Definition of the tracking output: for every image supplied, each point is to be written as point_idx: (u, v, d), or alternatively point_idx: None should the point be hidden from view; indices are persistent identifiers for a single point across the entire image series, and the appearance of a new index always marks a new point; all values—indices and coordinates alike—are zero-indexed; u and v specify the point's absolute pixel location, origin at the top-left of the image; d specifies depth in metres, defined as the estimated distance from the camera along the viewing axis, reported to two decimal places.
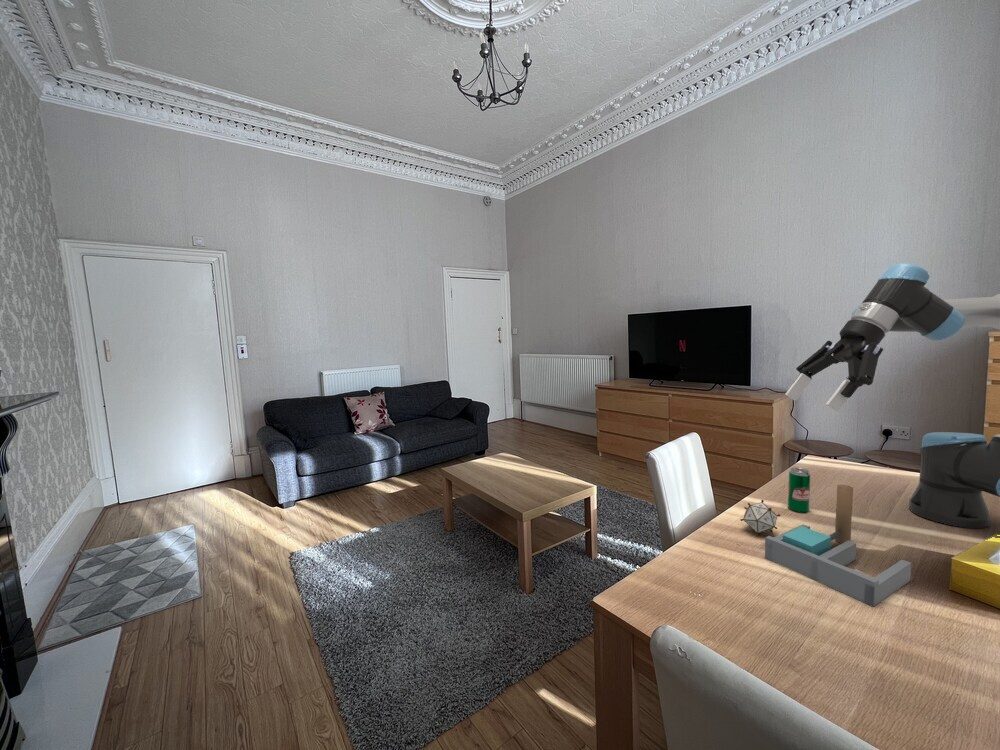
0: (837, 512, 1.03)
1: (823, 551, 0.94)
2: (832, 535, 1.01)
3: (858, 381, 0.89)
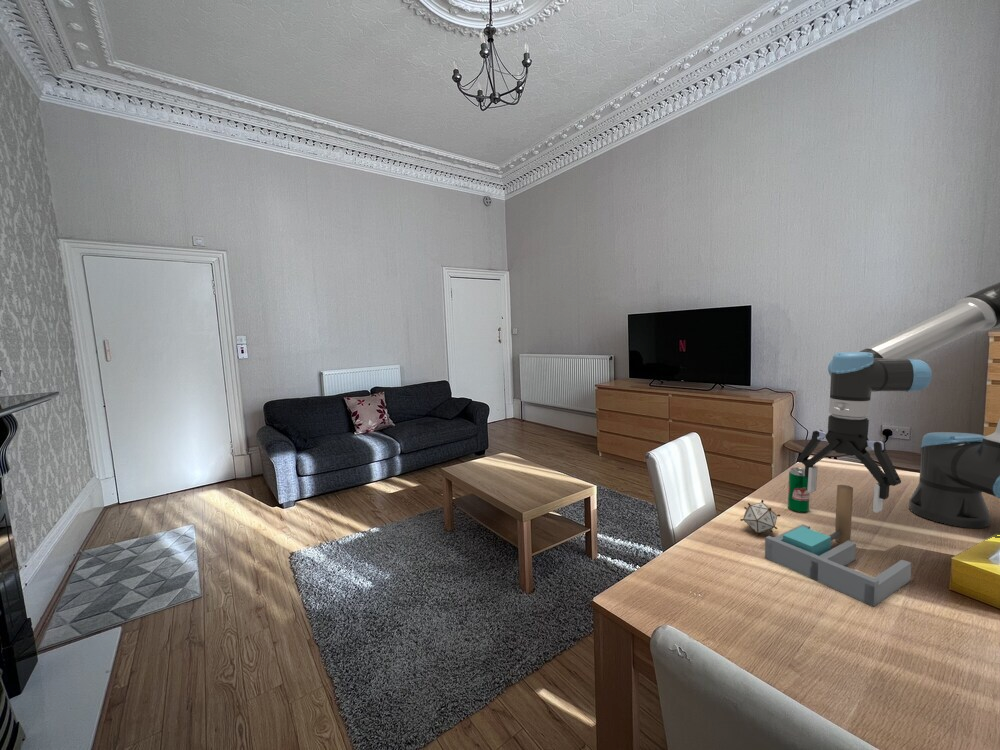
0: (837, 512, 1.03)
1: (823, 551, 0.94)
2: (832, 535, 1.01)
3: None
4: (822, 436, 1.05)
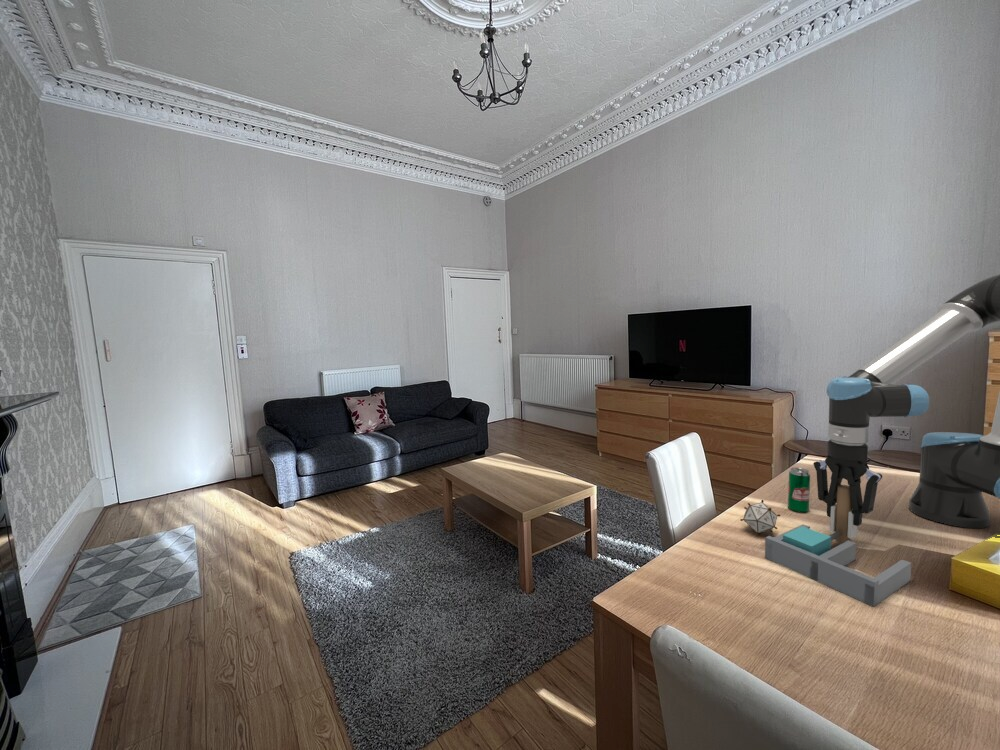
0: (837, 512, 1.03)
1: (823, 551, 0.94)
2: (832, 535, 1.01)
3: (863, 512, 0.99)
4: (823, 464, 1.06)
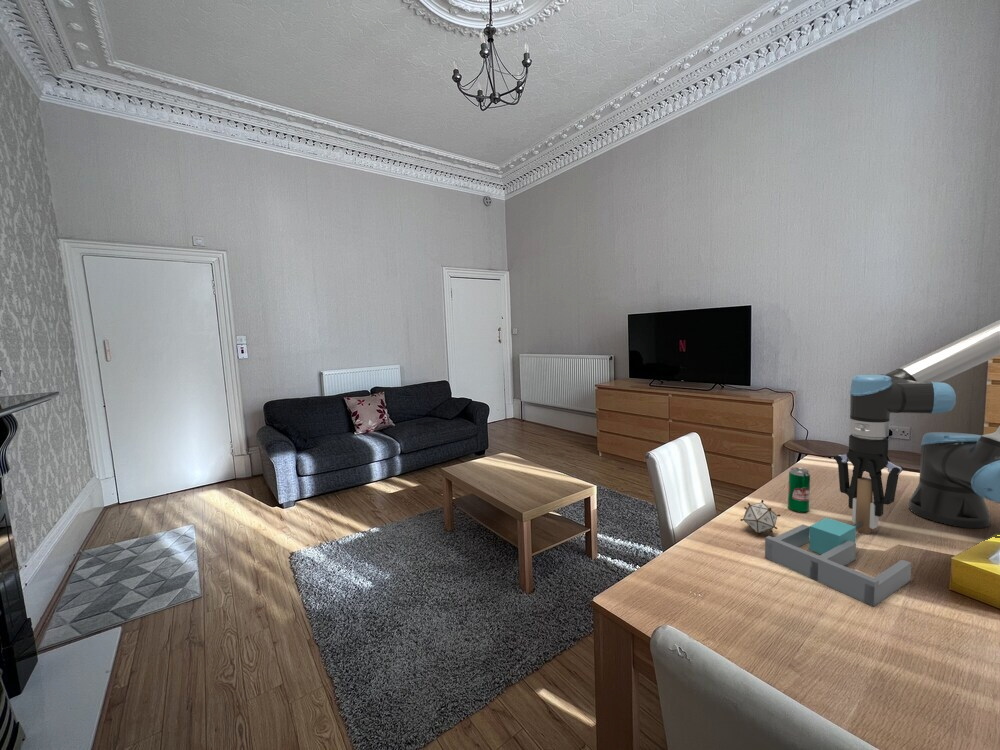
0: (858, 503, 1.07)
1: None
2: (854, 526, 1.05)
3: (884, 503, 1.04)
4: (845, 458, 1.10)
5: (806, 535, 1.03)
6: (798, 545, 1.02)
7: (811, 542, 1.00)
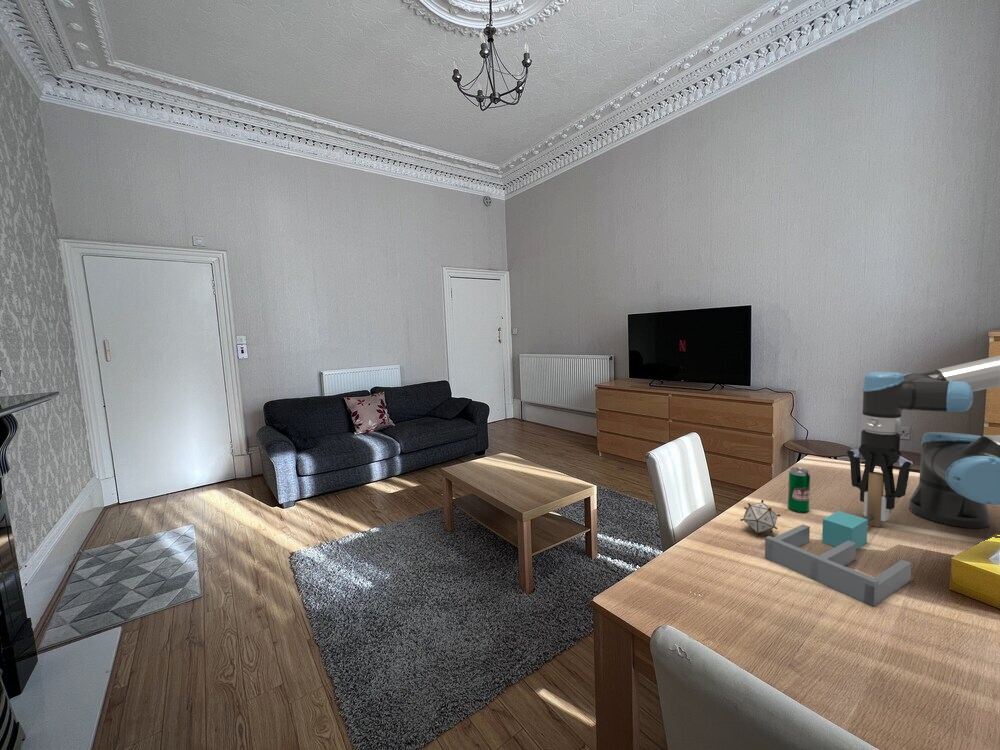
0: (869, 497, 1.10)
1: (861, 533, 1.01)
2: (865, 519, 1.08)
3: (895, 497, 1.07)
4: (857, 453, 1.13)
5: (806, 535, 1.03)
6: (798, 545, 1.02)
7: (824, 534, 1.03)
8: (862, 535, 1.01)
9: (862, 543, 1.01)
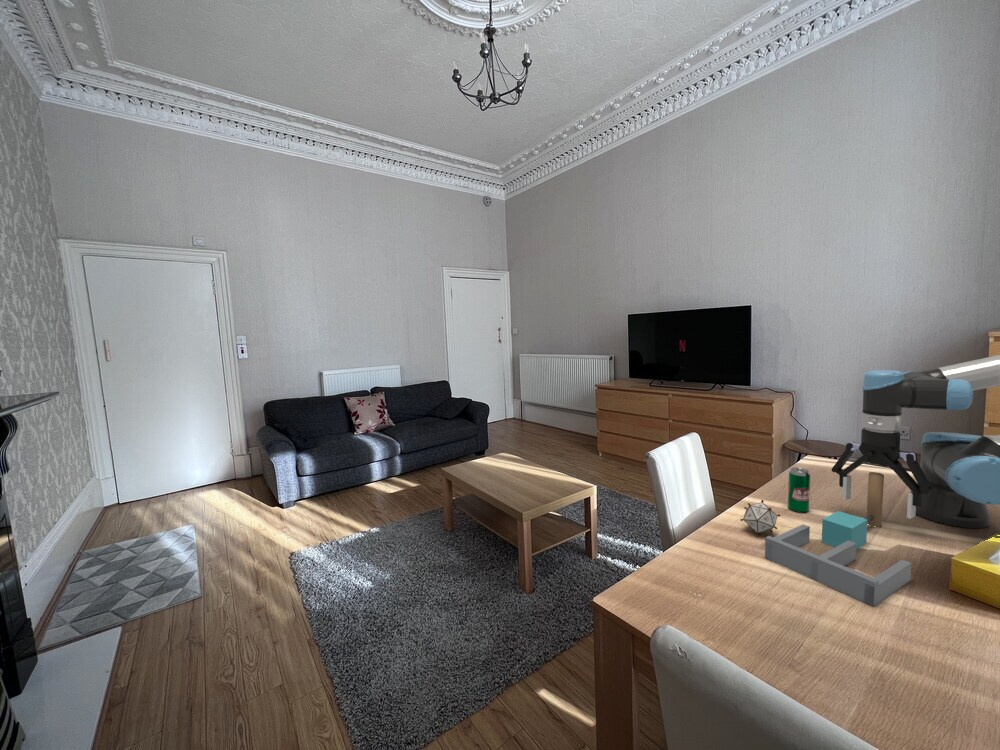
0: (869, 498, 1.10)
1: (861, 533, 1.01)
2: (865, 519, 1.08)
3: (923, 493, 1.02)
4: (855, 448, 1.14)
5: (806, 535, 1.03)
6: (798, 545, 1.02)
7: (824, 534, 1.03)
8: (862, 535, 1.01)
9: (862, 543, 1.02)
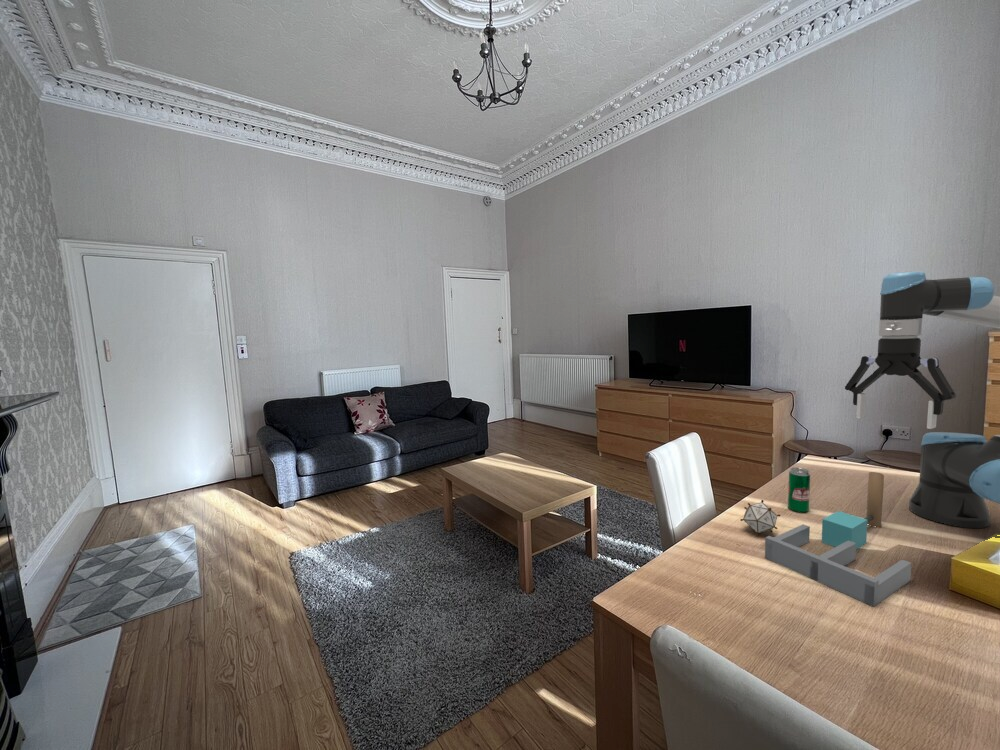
0: (869, 498, 1.10)
1: (861, 533, 1.01)
2: (865, 519, 1.08)
3: (945, 399, 0.95)
4: (871, 361, 1.06)
5: (806, 535, 1.03)
6: (798, 545, 1.02)
7: (824, 534, 1.03)
8: (862, 535, 1.01)
9: (862, 543, 1.02)
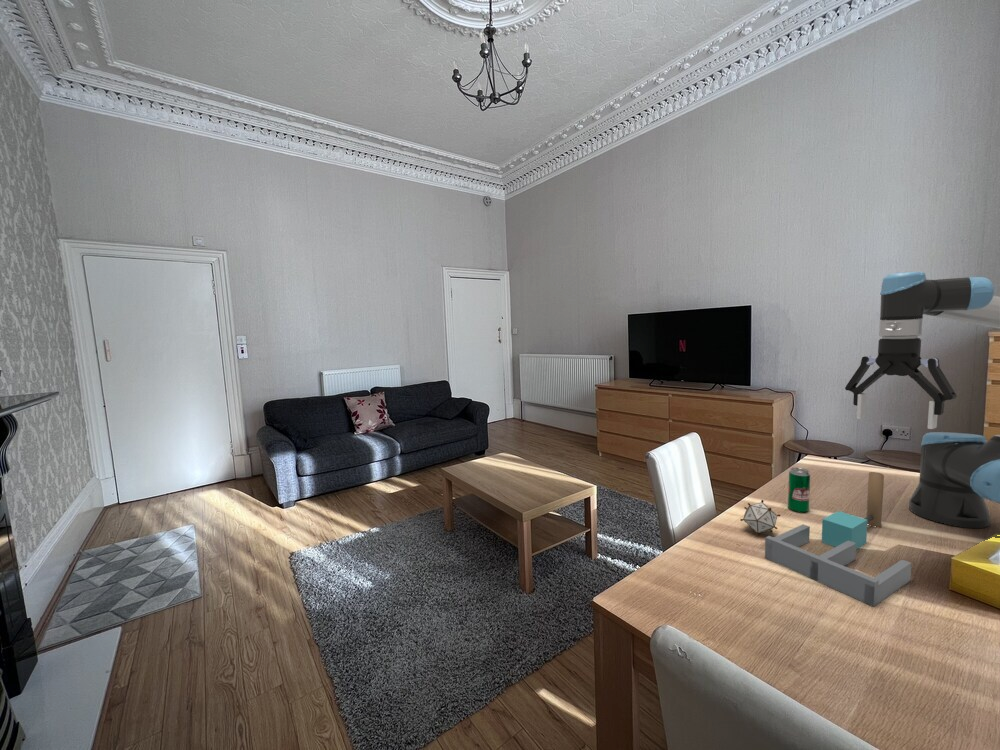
0: (869, 498, 1.10)
1: (861, 533, 1.01)
2: (865, 519, 1.08)
3: None
4: (872, 361, 1.06)
5: (806, 535, 1.03)
6: (798, 545, 1.02)
7: (824, 534, 1.03)
8: (862, 535, 1.01)
9: (862, 543, 1.02)
